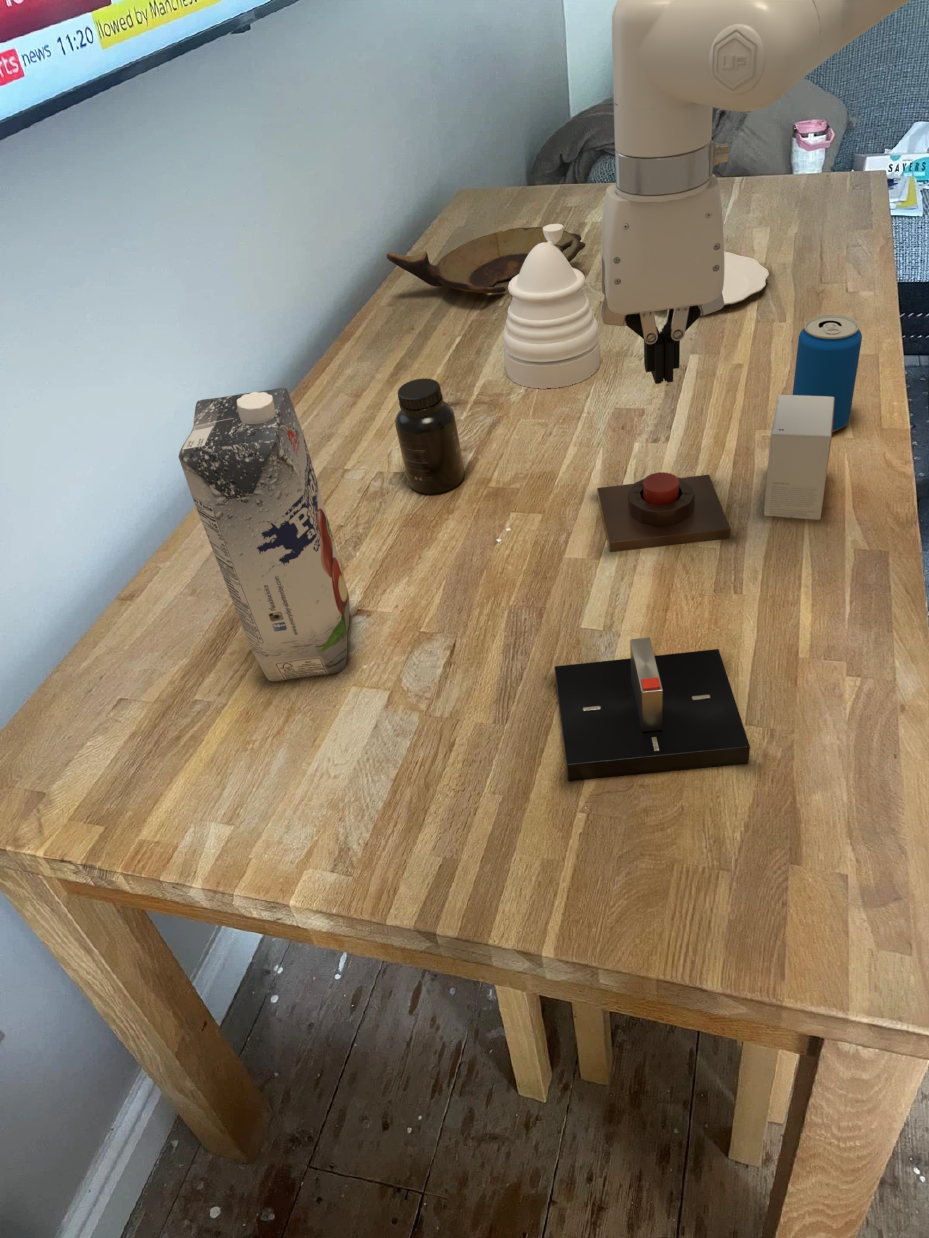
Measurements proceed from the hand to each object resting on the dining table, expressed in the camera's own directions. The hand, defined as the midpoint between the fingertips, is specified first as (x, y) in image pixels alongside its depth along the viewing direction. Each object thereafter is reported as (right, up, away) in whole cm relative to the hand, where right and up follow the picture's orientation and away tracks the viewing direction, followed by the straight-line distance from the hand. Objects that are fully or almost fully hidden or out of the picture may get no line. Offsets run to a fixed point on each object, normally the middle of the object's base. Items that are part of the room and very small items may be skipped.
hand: (661, 376), depth 88 cm
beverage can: (+23, 0, +22) cm, 32 cm away
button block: (+2, -13, +11) cm, 17 cm away
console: (-3, -32, -9) cm, 33 cm away
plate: (+16, +27, +54) cm, 62 cm away
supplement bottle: (-22, -6, +24) cm, 33 cm away
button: (+2, -10, +9) cm, 13 cm away
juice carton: (-33, -26, +4) cm, 42 cm away
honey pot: (-6, +12, +41) cm, 43 cm away
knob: (-4, -30, -11) cm, 32 cm away
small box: (+16, -11, +11) cm, 22 cm away
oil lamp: (-14, +32, +66) cm, 75 cm away
